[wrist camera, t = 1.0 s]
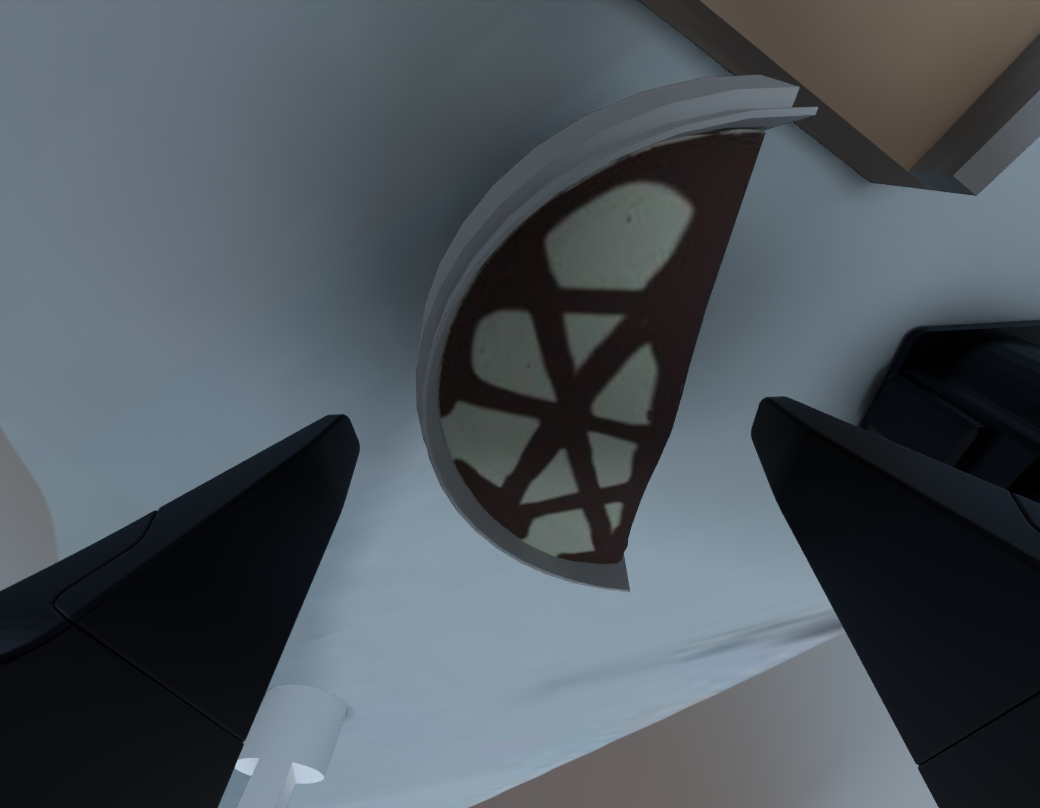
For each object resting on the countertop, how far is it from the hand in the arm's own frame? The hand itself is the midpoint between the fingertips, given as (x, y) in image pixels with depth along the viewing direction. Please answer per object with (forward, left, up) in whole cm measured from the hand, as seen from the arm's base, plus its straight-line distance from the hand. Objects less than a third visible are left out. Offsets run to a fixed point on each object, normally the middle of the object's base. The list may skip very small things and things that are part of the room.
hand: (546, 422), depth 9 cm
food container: (0, 0, -10) cm, 10 cm away
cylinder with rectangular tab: (+29, +46, -10) cm, 55 cm away
